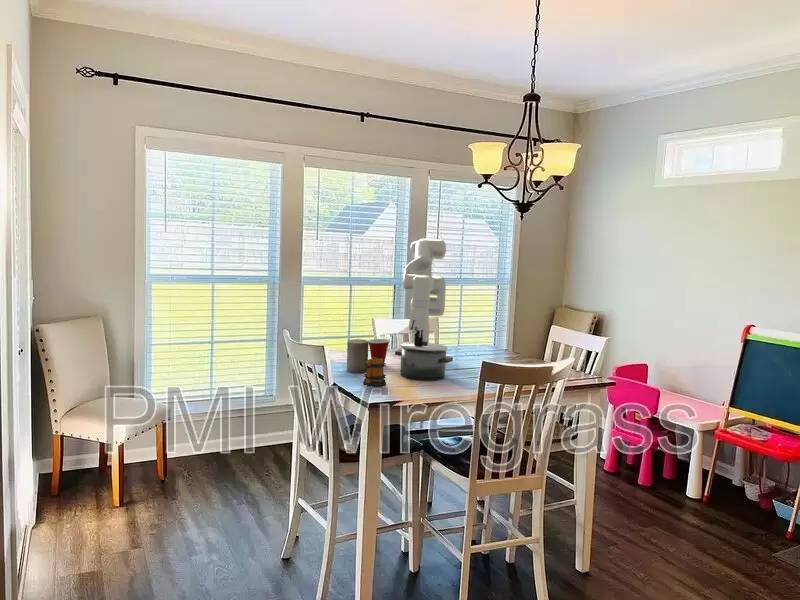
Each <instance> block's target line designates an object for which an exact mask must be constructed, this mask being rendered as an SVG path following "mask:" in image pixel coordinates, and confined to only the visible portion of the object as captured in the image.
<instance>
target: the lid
mask: <svg viewBox="0 0 800 600" xmlns="http://www.w3.org/2000/svg"><path fill="white" fill-rule="evenodd" d="M400 347H401V348H402V347H403V348H407V349H412V350H420V351H446V352H447V351H448V346H446V345H444V344H439V343H432V342H429V343H428V342H427V341H423V345H422V346H421V347H419V346H414V342H410V341H403V342H400Z"/></svg>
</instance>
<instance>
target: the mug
mask: <svg viewBox="0 0 800 600" xmlns="http://www.w3.org/2000/svg"><path fill="white" fill-rule="evenodd" d="M386 364H387V363H385V362H384V363H383V359H382V358H381V359H376V358H374V357H372V358H371V357H370V358H368V360H367V361H366V364H365V365H366V366H367V372H365V373H363V374H364V376H363V378H364V380H363V382H362V384H363V386H365V385H367V386H366V387H368V386H372V387H371V388H382V387H383V386H384V387H386V386H387V382H386V379H387V377H386V376H387V374H385V371H384V367H386ZM384 387H383V388H384Z"/></svg>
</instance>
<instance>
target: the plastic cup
mask: <svg viewBox="0 0 800 600" xmlns="http://www.w3.org/2000/svg"><path fill="white" fill-rule="evenodd" d="M367 341H368V348H369V354H370V359H371V358H372V357H374V358H376V359H381V358H382V359H383V363H385V361H386V358H387V352H388V347H389V343H390V342H391V341H390V339H387V338H372V339H368V340H367Z"/></svg>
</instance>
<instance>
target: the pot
mask: <svg viewBox="0 0 800 600" xmlns="http://www.w3.org/2000/svg"><path fill="white" fill-rule="evenodd" d="M394 356H400V369H399V370H400V373H399V374H400V377H401V378H404V379H407V380H412V381H419V382H436V381H442V380H444V379H445V377H446V364H449V363H452V362H453V360H454V359H453V358H454V357H452V356H447V351H420V350H412V349H407V348H403V347H401V349H399V350H395V351H394Z"/></svg>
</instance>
